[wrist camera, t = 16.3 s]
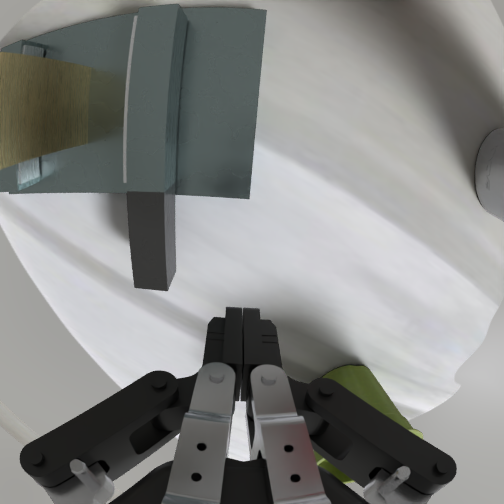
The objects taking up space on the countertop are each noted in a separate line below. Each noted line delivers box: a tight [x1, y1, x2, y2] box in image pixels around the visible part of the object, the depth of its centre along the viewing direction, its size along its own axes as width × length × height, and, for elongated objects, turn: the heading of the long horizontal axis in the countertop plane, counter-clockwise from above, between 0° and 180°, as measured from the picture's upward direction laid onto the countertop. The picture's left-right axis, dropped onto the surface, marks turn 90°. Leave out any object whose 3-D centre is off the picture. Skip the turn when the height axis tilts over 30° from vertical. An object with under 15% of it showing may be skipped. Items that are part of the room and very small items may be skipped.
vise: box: [0, 7, 267, 199], centre depth 17 cm, size 22×14×4 cm, turn 85°
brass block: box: [0, 52, 92, 170], centre depth 13 cm, size 4×6×10 cm, turn 175°
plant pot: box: [313, 365, 423, 484], centre depth 27 cm, size 12×12×11 cm
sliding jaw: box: [123, 4, 188, 291], centre depth 18 cm, size 3×19×3 cm, turn 175°
